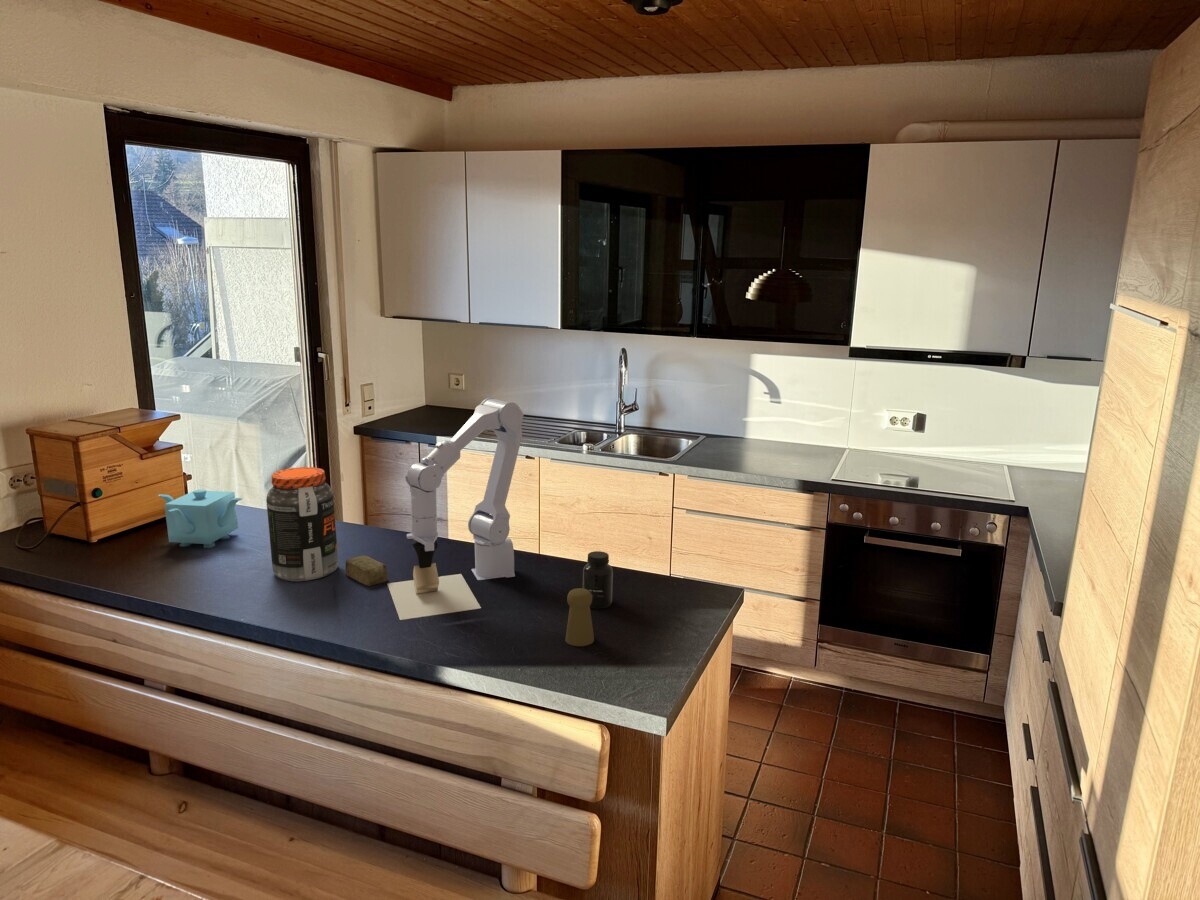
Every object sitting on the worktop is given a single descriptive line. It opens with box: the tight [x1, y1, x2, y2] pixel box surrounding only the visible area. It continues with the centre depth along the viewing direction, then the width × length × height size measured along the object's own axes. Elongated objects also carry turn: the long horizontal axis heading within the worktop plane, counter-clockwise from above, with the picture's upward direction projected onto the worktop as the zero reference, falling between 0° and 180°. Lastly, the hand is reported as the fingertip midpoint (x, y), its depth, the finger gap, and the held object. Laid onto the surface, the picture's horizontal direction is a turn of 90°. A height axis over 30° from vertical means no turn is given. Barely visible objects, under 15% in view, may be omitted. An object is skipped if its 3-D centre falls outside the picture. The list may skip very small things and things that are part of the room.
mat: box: [387, 573, 482, 621], centre depth 197 cm, size 18×22×1 cm
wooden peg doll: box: [565, 587, 595, 647], centre depth 175 cm, size 6×6×11 cm
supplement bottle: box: [582, 550, 614, 610], centre depth 193 cm, size 7×7×12 cm
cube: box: [412, 562, 439, 594], centre depth 197 cm, size 5×5×5 cm
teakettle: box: [158, 488, 244, 549], centre depth 232 cm, size 19×19×15 cm
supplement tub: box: [265, 466, 339, 582], centre depth 209 cm, size 16×16×26 cm
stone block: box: [345, 555, 388, 587], centre depth 207 cm, size 6×12×5 cm, turn 46°
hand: (425, 571), depth 197 cm, fingers closed, pressing on cube
